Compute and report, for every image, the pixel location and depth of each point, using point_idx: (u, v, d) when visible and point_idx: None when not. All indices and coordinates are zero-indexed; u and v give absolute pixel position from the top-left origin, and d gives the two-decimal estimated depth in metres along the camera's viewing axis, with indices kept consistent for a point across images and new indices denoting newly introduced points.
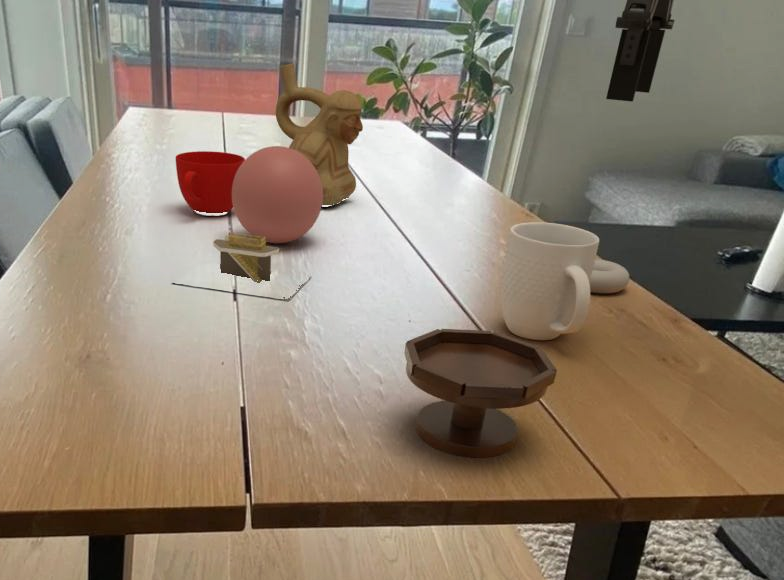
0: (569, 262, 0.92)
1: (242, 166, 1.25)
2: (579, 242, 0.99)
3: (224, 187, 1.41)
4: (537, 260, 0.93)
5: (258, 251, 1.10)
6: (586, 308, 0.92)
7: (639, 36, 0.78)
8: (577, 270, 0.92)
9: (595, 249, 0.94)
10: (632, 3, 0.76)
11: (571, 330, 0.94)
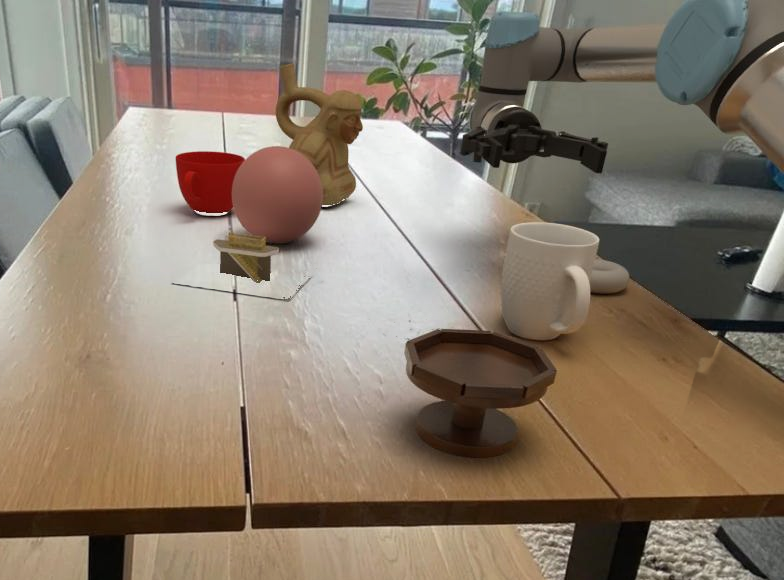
0: (569, 262, 0.92)
1: (242, 166, 1.25)
2: (579, 242, 0.99)
3: (224, 187, 1.41)
4: (537, 260, 0.93)
5: (258, 251, 1.10)
6: (586, 308, 0.92)
7: (478, 142, 1.04)
8: (578, 270, 0.92)
9: (595, 249, 0.94)
10: None
11: (571, 330, 0.94)
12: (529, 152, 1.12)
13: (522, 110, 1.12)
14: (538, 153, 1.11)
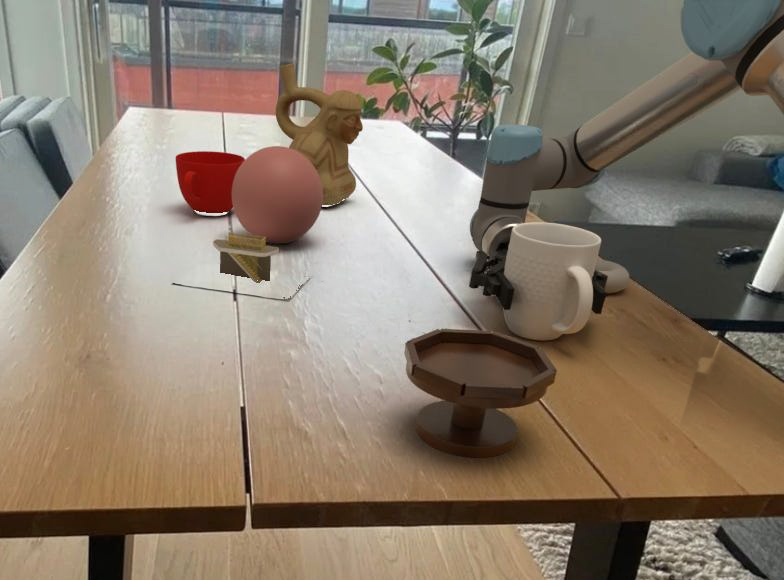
0: (572, 262, 0.92)
1: (242, 166, 1.25)
2: (580, 242, 0.99)
3: (224, 187, 1.41)
4: (539, 260, 0.93)
5: (258, 251, 1.10)
6: (589, 308, 0.92)
7: (488, 278, 1.00)
8: (580, 270, 0.92)
9: (597, 249, 0.94)
10: None
11: (573, 330, 0.94)
12: None
13: None
14: None
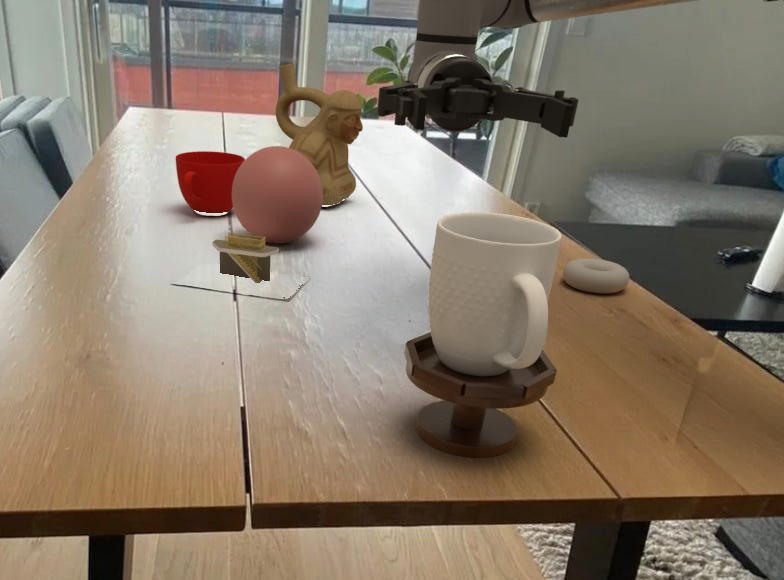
0: (518, 268, 0.64)
1: (242, 166, 1.25)
2: (535, 240, 0.71)
3: (224, 187, 1.41)
4: (472, 266, 0.65)
5: (258, 251, 1.10)
6: (543, 334, 0.64)
7: (398, 97, 0.75)
8: (530, 280, 0.64)
9: (555, 249, 0.66)
10: None
11: (523, 365, 0.66)
12: (475, 115, 0.84)
13: (466, 59, 0.84)
14: (486, 115, 0.83)
